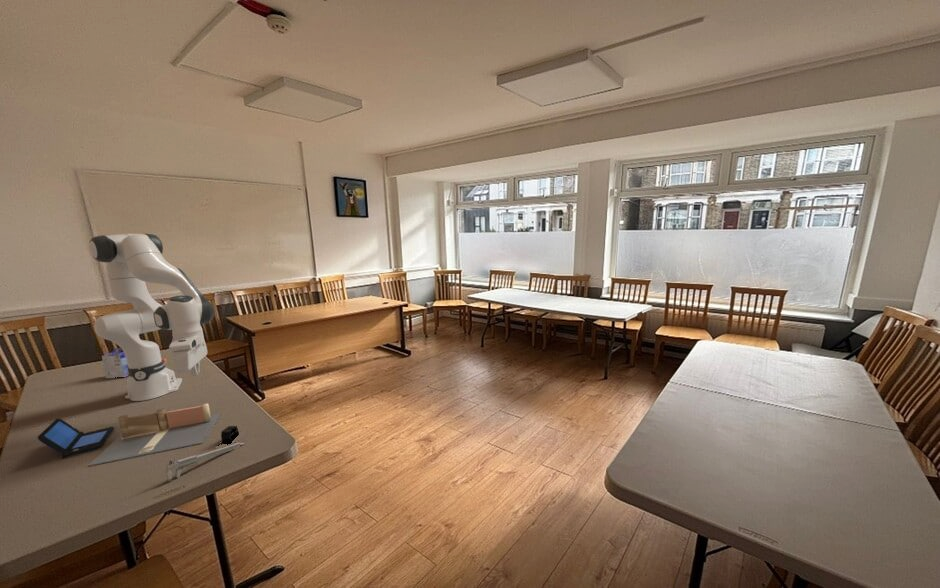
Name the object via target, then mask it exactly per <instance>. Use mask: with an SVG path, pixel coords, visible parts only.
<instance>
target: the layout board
mask: <svg viewBox="0 0 940 588" xmlns="http://www.w3.org/2000/svg"><path fill="white" fill-rule="evenodd" d="M220 414H221V413H217V414H212V415H211V414H210V415H211V420H210V421H207V422H201V423H195V424H190V425H185V426H179V427H174V428H169V429H167V430H164V431H161V430H160V431H155V432H150V433H144V434H139V435H134V436H130V437H127V438H123V436H122V434H121V435H119V436H118V437H117V438H116V439H115V440H114V441H113V442H111V444H110V445H109V446H107V447H106V448H105V449H104V450H103V451H102V452H101V453H100V454H99V455H98V456H96V457H95V458H94V460H92V461H91V462H90V463H89V464H88V465H87V466H89V467H93V466H92V465H94V466H97V465H96V464H99V465H103V464H102V463H104V464H108V463H107V462H109V463H113V462H112V461H114V462H117V461H116V460H119V461H122V459H124V460H127V459H128V458H129V459H133V458H138V457H142V456H147V455H148V456H149V455H154V454H159V453H162V452H163V453H164V452H167V451H172V450H178V449H182V447H183V448H188V447H191V446H196V445H197V444H198V445H202V444H203V442H205V440H206V439H207V436H209V434H210V433H211V431H212V429H213V428H214V426H215V425H216V423H217V422H218V420H219V419H220V417H221V416H220ZM219 416H220V417H219ZM218 418H219V419H218ZM217 419H218V420H217ZM216 421H217V422H216ZM215 422H216V423H215ZM214 424H215V425H214ZM212 427H213V428H212Z"/></svg>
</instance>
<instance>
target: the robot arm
mask: <svg viewBox="0 0 940 588" xmlns="http://www.w3.org/2000/svg"><path fill="white" fill-rule="evenodd" d="M163 250H164V247H163V242H162V240H161V239H160V237H159V236H158V235H156V234H152V233H121V234H120V233H119V234H118V233H117V234H112V235H111V234H108V235H105V234H104V235H103V234H102V235H97V236H92V238H91V239H90V240H89V244H88V251H89V253H90V255H91V257H92V258H93V259H94V260H96V261H97V262H101V263H106V274H107V279H108V284H109V289H110V291H111V296H112V297H113V298H114V299H116V300H118V301H120V302H124V303H128V304H131V305H132V306H133V308H132V309H129V310H128V309H127V310H122V311H115V312H111V313H107V314H105V315H102V316H99V317H97V318H96V320H94V321H95V322H94V325H93V330H94V332H95V334H96V335H97V336H98V337H100V338H101V339H104V340H107V341H110V342H112V343H114V344H116V345H117V346H119V348H121V351H122V352H124V354H125V356H126V359H127V363H128V374H129V376H128V379H126V388H127V394H126V395H125V396H124V398H125V399H127V400H130V401H132V402H140V401H141V402H142V401H148V400H152V399H155V398H159V397H162V396H165V395H167V394H169V393H172V392H176V391H178V390H179V388H180V386H181V384H182V382H183V378H181V377H176V374H175V371H174V370H172V369H170V368H168V367H167V366H166V365H165V364H166V363H167V358H162V354H161V351H160V346H159V344H157V343H156V342H154V341H151V340H146V339H145V340H144V339H141V338H140V335H141V334H145V333H150V332H155V331H159V330H163V331H171V330H172V331H171V333H172V334H171V335H172V340H171V342H170V344H169V346H168V349H169V351H170V353H171V352H172V353H171V356H172V361H173V365H174V368H175V370H176V372H178V373H183V372H190V375H191V377H197V376H198V375H199V373H200V372H201V371H200V365H201V361H202V360H203V359H204V358H205V357H206V356H207V355H208V347H207V343H206V341H205V335H204V329H203V328H202V325H204V324H208V323H210V322H211V321H212V319H213V318H214V316H215V313H216V311H215V307H214V305H213V304H212V302H210V301H209V300H208V299H207V298H206V297H205V296H204V295H203V294H202V293H201V291H200V290H199V289H198V288H197V286H196V285H195V284H194V282H192V280H191V279H190V278H189V276H187V274H186V273H185V272H184V271H183V270H182V269H181V268H179V267H176V266H174V265H173V264H171V263H169V262H168V261H167V260H166V259H165V258H164V256H163V252H164V251H163ZM147 283H150V284H158V285H159V284H160V285H167V286H171V287H174V288H176V289H178V290H179V291H180V293H181V294H182V295H176V296H175V295H174V296H172V297H169V298H168V299H167V302H166V304H161V303H159V302H157V301H156V299H154V298H153V297H152V296H151V294H150V293H149V290H148V287H147Z"/></svg>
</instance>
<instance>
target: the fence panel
mask: <svg viewBox="0 0 940 588" xmlns="http://www.w3.org/2000/svg"><path fill="white" fill-rule="evenodd" d="M166 415H167V420H168V425H169V428H174V427H179V426H185V425H190V424H195V423H201V422H207V421H210V420H211V411H210V405H209V403H208V402H207V403H204V404H202V405H197V406H192V407H186V408H181V409H180V408H179V409H173V410H169V411H166Z"/></svg>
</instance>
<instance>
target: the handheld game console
mask: <svg viewBox="0 0 940 588" xmlns="http://www.w3.org/2000/svg"><path fill="white" fill-rule="evenodd" d="M114 430H115V427H114V426H108V427H105V428H100V429H97V430H92V431H88V432H84V431H80V430H79V429H77V428H75V427H73V426H72V425H71V424H69V423H68V422H66V421H65V420H63V419H61V418H56V419H55V420H54V421H53V422H52V423H50V424H49V425H48V426H47V427H46V428H45V429H44V430H43V431H42V432H41V433H40V434H39V435H38V436H37V440H38V441H40V442H41V443H42V444H44V445H45V446H47V447H49V448H51V449H52V450H53V451H55V452H57V453H58V454H61V458H62V459H66V458H68V457H69V456H70V457H72V456H73V455H74V456H77V454H78V455H81V453H82V454H85V452H86V453H89V451H90V452H93V450H94V451H97V450H100V449H101V448H103V446H104V445H105V444H106V442H107V441H108V439H109V438H110V436H111V435H112V434H113V432H114ZM99 448H100V449H99ZM65 457H66V458H65Z"/></svg>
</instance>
